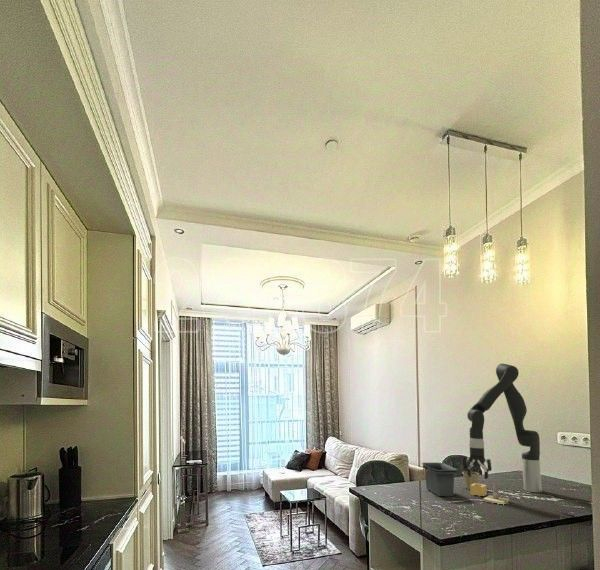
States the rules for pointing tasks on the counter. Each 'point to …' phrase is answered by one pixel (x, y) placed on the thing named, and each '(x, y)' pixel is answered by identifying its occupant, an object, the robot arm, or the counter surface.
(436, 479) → the storage bin
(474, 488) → the ring
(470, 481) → the flower pot
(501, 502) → the post stand
